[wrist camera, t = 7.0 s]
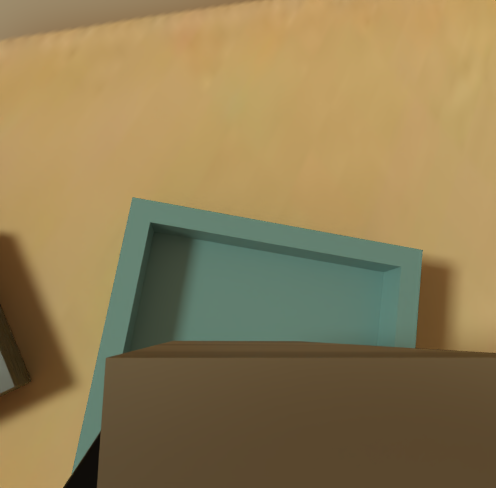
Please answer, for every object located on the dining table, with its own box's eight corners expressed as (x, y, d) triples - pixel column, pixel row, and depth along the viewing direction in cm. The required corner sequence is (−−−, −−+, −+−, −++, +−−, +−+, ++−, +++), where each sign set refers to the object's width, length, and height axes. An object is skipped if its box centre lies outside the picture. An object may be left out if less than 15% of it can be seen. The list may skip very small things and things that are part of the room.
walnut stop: (300, 475, 15) (647, 938, 4) (167, 478, 15) (60, 1032, 3) (298, 341, 16) (566, 357, 4) (173, 340, 16) (105, 358, 4)
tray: (366, 587, 21) (394, 629, 18) (67, 553, 20) (45, 591, 17) (395, 259, 24) (422, 249, 21) (140, 214, 23) (132, 197, 20)
